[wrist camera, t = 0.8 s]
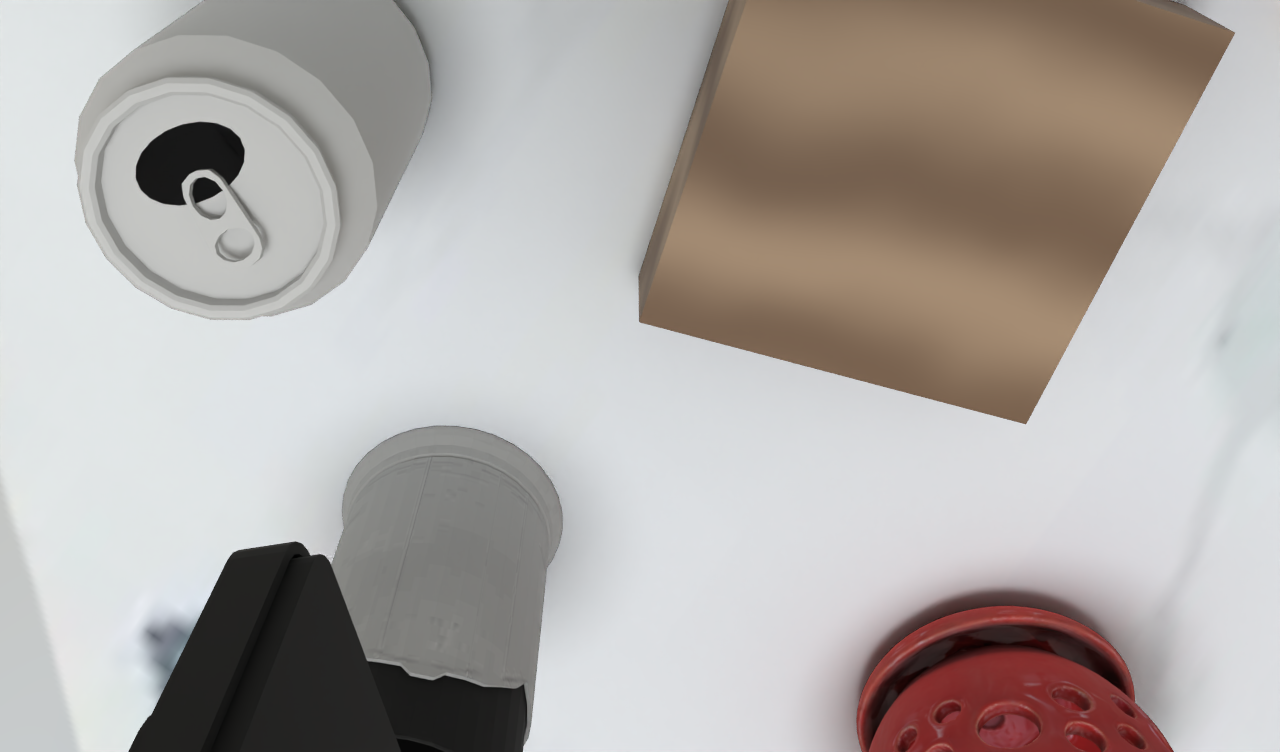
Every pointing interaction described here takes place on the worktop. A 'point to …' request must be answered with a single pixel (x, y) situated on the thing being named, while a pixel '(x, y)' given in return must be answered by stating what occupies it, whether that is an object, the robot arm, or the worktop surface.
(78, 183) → the can
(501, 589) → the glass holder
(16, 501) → the worktop surface
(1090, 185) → the walnut base block
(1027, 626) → the plant pot
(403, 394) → the worktop surface
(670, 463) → the worktop surface
